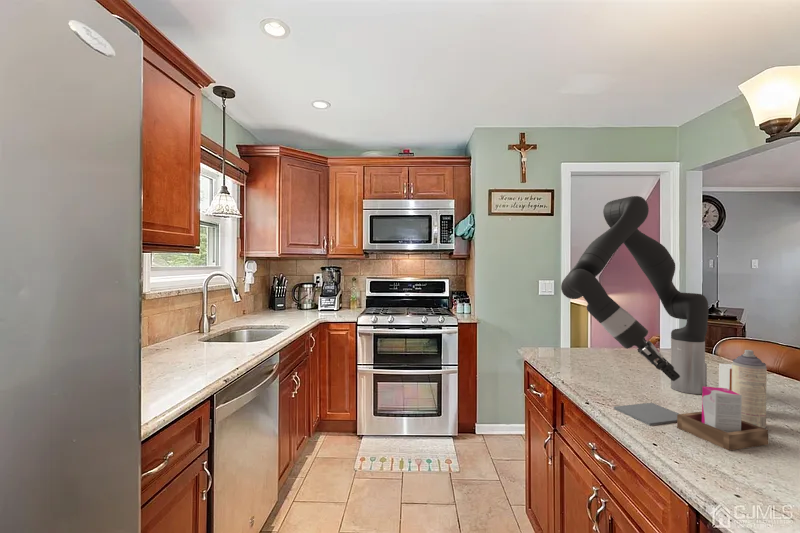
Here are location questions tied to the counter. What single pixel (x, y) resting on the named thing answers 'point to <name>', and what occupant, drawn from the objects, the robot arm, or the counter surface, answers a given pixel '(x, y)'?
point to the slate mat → (649, 413)
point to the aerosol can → (750, 387)
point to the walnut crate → (723, 432)
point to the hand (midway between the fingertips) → (673, 374)
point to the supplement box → (721, 409)
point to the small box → (725, 376)
